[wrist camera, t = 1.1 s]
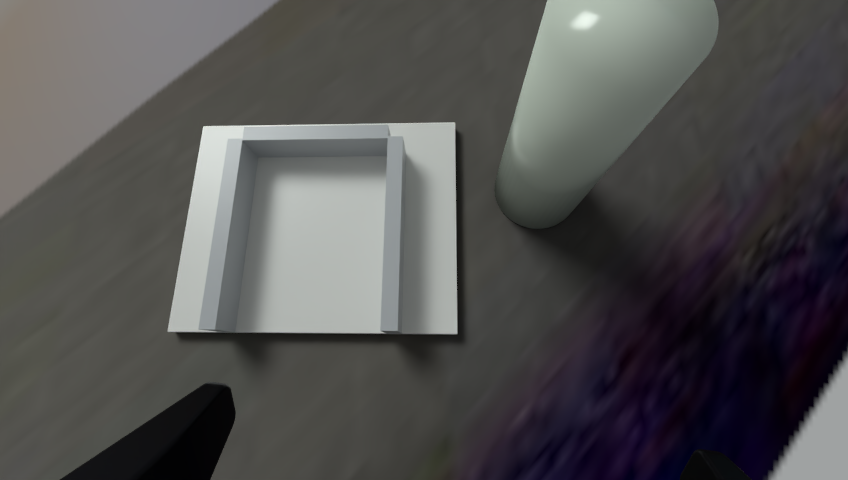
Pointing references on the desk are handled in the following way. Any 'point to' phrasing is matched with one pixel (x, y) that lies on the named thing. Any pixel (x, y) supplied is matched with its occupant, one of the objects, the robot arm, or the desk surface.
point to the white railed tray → (321, 231)
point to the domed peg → (594, 96)
